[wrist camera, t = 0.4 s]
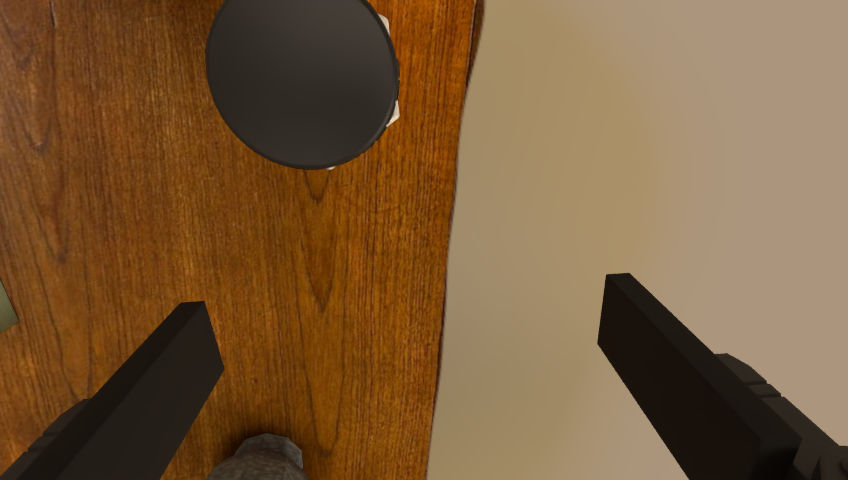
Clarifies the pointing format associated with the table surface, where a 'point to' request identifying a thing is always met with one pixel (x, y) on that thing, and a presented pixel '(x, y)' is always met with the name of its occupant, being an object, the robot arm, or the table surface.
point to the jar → (303, 78)
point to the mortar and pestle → (262, 461)
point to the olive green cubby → (6, 311)
